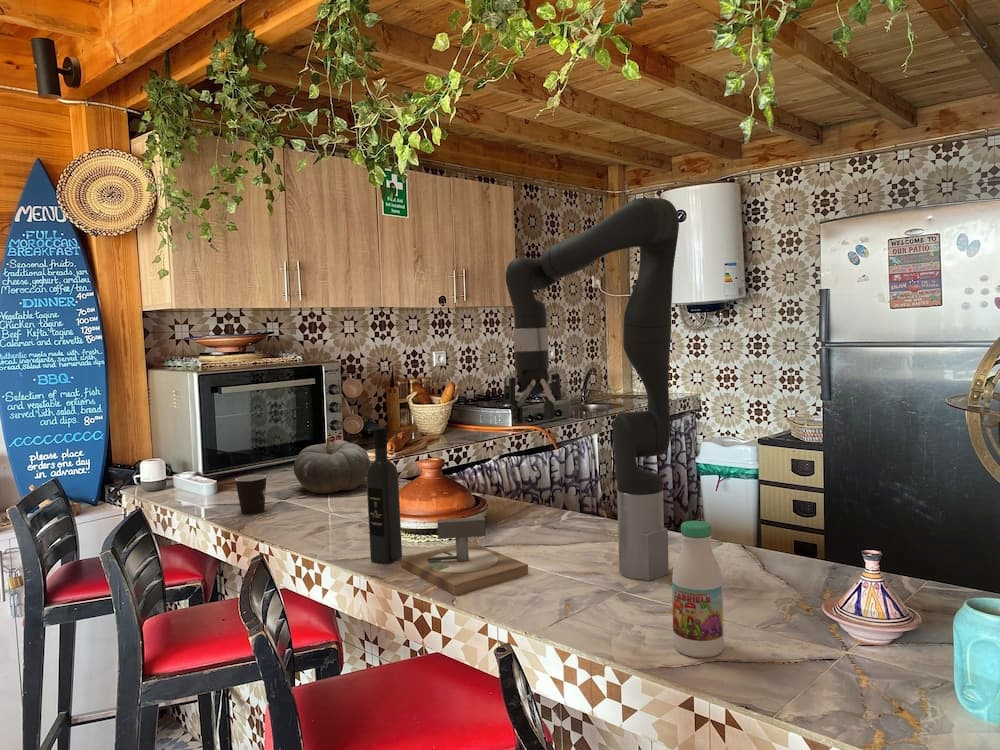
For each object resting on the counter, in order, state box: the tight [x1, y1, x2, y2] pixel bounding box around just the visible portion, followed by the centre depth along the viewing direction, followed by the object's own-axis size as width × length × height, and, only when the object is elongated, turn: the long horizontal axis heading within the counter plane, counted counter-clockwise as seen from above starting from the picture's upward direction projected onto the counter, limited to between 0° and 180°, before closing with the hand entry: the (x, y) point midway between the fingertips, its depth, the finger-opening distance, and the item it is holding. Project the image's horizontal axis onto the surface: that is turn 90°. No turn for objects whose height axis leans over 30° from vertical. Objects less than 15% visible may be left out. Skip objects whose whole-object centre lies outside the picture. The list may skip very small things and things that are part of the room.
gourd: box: [293, 437, 372, 495], centre depth 241 cm, size 25×25×17 cm
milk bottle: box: [671, 520, 725, 659], centre depth 116 cm, size 8×8×20 cm
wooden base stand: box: [400, 540, 529, 596], centre depth 157 cm, size 22×18×2 cm
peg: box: [427, 516, 487, 561], centre depth 156 cm, size 12×3×8 cm, turn 95°
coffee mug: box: [234, 474, 267, 515], centre depth 217 cm, size 12×9×10 cm
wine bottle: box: [365, 426, 403, 565], centre depth 165 cm, size 6×6×30 cm
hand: (533, 421), depth 164 cm, fingers open, 8 cm apart
